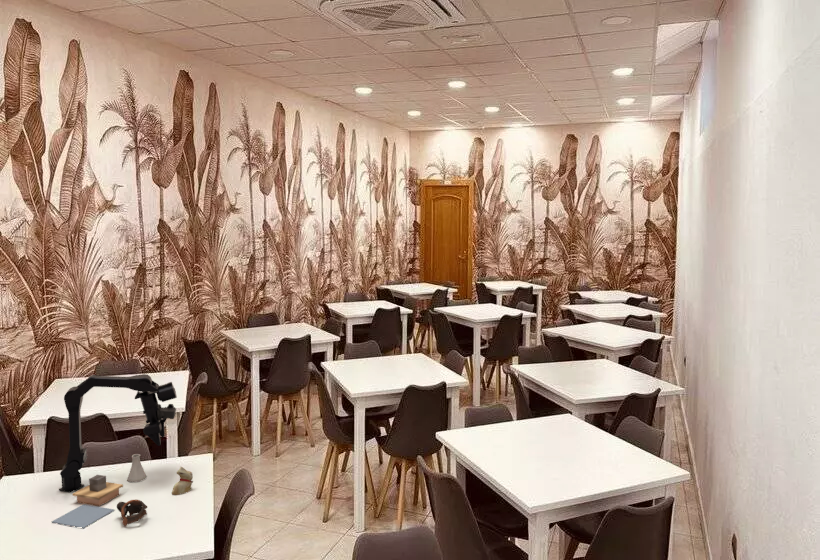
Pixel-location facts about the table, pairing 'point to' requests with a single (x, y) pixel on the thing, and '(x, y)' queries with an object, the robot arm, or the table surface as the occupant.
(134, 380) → the robot arm
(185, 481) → the chocolate bunny
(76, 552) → the table surface
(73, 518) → the slate mat
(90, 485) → the wooden lid
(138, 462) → the flask
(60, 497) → the table surface
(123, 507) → the brown curved piece
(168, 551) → the table surface
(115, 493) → the terracotta dish
